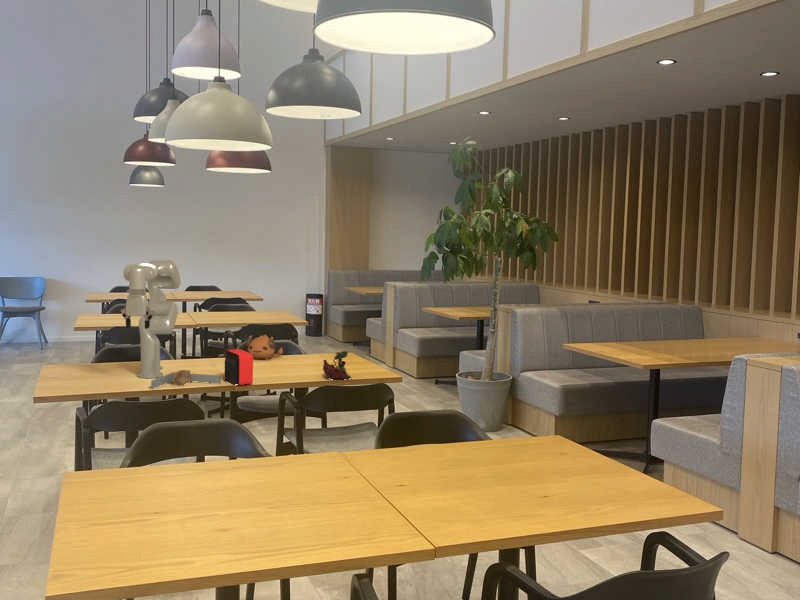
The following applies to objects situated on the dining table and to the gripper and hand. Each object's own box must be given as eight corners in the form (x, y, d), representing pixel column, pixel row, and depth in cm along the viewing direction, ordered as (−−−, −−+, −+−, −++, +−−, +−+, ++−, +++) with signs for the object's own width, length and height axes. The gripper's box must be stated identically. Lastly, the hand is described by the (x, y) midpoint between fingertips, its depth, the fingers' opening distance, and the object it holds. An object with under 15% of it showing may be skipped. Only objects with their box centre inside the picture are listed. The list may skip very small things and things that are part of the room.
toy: (241, 358, 449) (243, 333, 449) (253, 358, 465) (255, 334, 466) (272, 360, 444) (274, 335, 445) (283, 360, 461) (285, 335, 462)
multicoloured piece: (351, 381, 396) (351, 353, 395) (322, 381, 395) (322, 353, 394) (351, 376, 411) (351, 349, 409) (323, 376, 409) (323, 348, 408)
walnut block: (173, 385, 376) (173, 372, 375) (180, 381, 384) (180, 370, 383) (183, 385, 375) (183, 373, 374) (190, 382, 383) (190, 370, 382)
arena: (172, 380, 388) (172, 372, 387) (220, 383, 383) (220, 375, 383) (151, 388, 367) (151, 380, 366) (202, 392, 362) (202, 383, 362)
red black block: (235, 387, 375) (235, 355, 374) (220, 379, 392) (221, 349, 391) (253, 385, 381) (253, 354, 379) (238, 378, 397) (239, 348, 396)
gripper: (116, 292, 367) (117, 328, 369) (150, 294, 364) (150, 329, 366) (125, 291, 375) (125, 326, 376) (157, 292, 372) (158, 327, 373)
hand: (137, 327), depth 371 cm, fingers open, 9 cm apart
